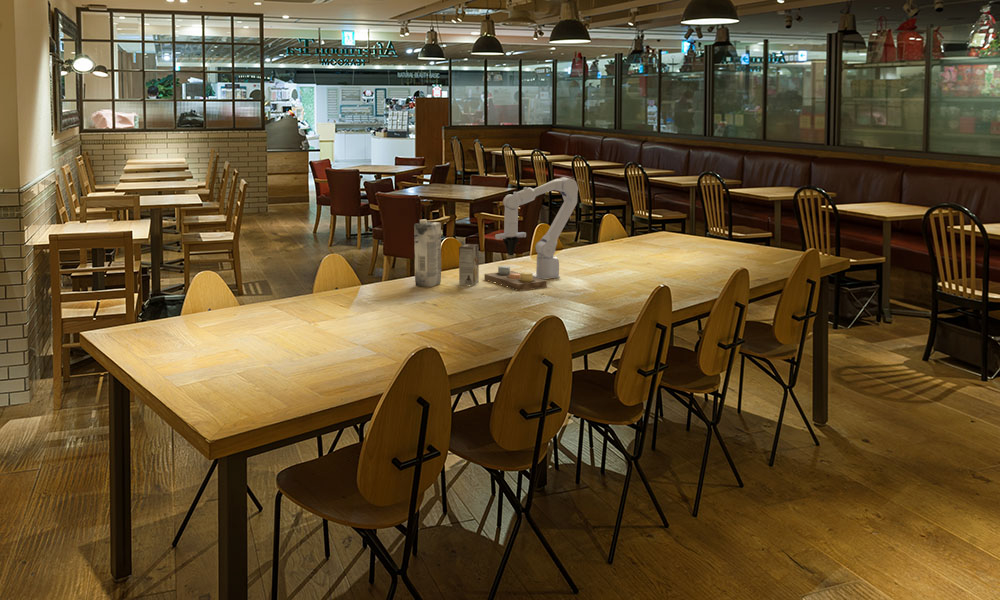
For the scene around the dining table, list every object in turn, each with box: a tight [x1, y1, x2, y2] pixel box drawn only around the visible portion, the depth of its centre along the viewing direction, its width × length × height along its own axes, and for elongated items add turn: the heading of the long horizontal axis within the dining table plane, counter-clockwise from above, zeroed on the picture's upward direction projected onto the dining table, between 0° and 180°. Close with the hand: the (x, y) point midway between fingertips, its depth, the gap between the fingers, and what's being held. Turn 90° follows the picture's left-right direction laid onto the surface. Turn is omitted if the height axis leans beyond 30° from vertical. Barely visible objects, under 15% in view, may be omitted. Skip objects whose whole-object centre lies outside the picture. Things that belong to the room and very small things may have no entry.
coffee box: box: [458, 243, 480, 287], centre depth 365 cm, size 9×6×16 cm
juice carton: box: [413, 218, 442, 288], centre depth 360 cm, size 9×10×27 cm
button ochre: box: [520, 271, 534, 283], centre depth 360 cm, size 5×5×3 cm
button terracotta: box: [509, 273, 521, 279], centre depth 367 cm, size 5×5×3 cm
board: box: [483, 270, 548, 291], centre depth 368 cm, size 14×26×2 cm, turn 32°
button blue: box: [497, 265, 511, 276], centre depth 374 cm, size 5×5×3 cm
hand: (510, 255), depth 375 cm, fingers closed
